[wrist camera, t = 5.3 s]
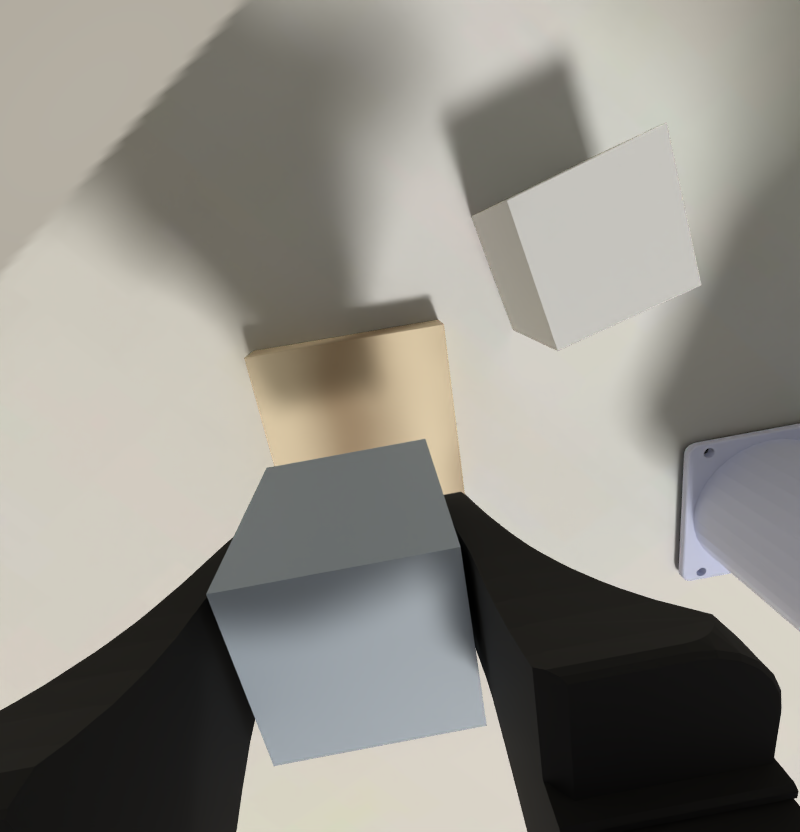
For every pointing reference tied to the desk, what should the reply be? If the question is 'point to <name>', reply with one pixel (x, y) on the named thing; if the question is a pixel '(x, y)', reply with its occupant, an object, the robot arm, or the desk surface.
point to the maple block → (359, 396)
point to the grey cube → (592, 243)
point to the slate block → (349, 606)
